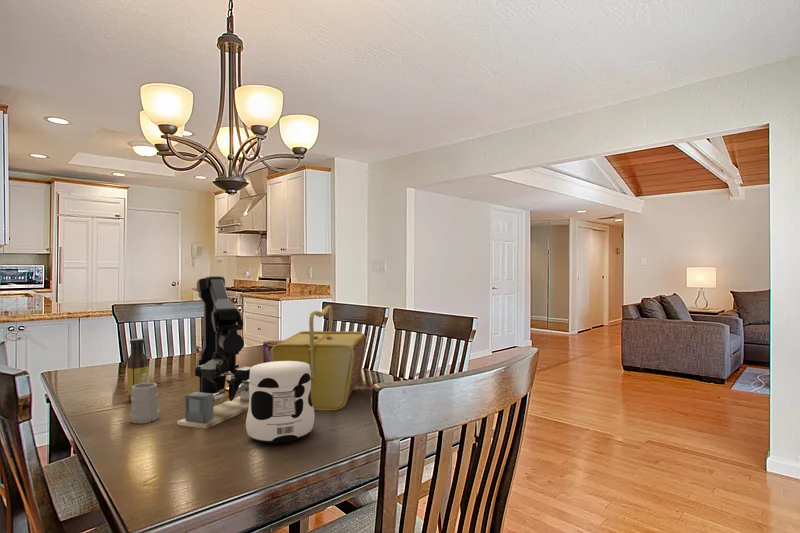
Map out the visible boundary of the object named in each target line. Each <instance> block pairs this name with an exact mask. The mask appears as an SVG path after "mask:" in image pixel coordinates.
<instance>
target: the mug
mask: <svg viewBox="0 0 800 533" xmlns="http://www.w3.org/2000/svg"><path fill="white" fill-rule="evenodd" d="M130 402H131V403H130V404H131V406H130V407H131V410H130V413H129V418H130V422H131V423H132V422H133V424H138V423H139V424H147V422H148V423H152V422H154V421H157V420H158V419H159V415H160V414H161V413H160V412H161V410H160V409H159V392H158V384H157V383H156V382H149V383H147V379H146V374H142V383H141V384H137V385H134V386H132V396H131V401H130ZM151 421H152V422H151Z"/></svg>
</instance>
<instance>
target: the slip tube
mask: <svg viewBox="0 0 800 533" xmlns="http://www.w3.org/2000/svg"><path fill="white" fill-rule="evenodd" d="M248 389H249V382H245V383H242V384H240V386H239V388H238V390H237V392H236V394H235V395H237V394H240V392H243V391H245V390H248ZM226 400H227V401H228V400H229V386H226V387H225V388H224V389H221V390H220V391H219V392H218V393H215V394H213V404H215V403H217V402H220V401H223V402H225V401H226Z"/></svg>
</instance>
